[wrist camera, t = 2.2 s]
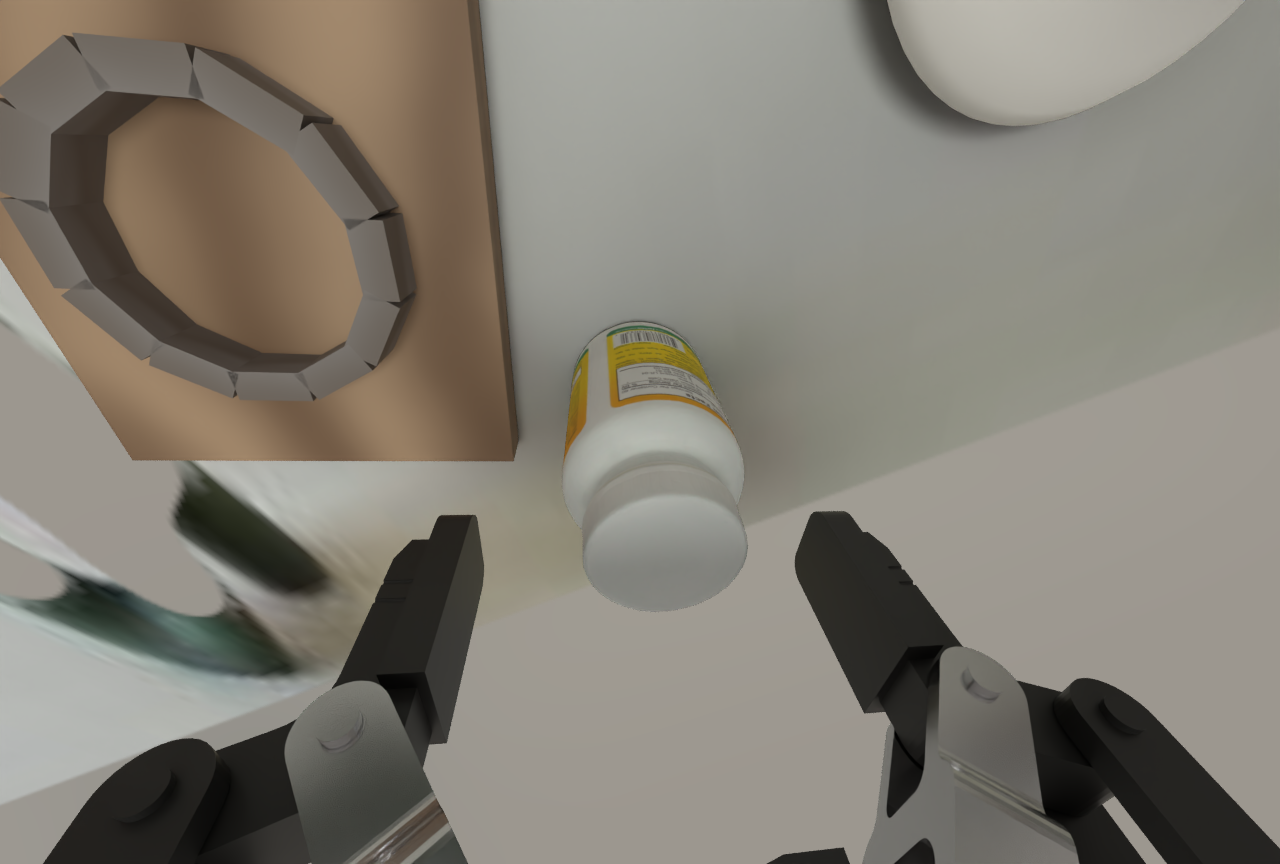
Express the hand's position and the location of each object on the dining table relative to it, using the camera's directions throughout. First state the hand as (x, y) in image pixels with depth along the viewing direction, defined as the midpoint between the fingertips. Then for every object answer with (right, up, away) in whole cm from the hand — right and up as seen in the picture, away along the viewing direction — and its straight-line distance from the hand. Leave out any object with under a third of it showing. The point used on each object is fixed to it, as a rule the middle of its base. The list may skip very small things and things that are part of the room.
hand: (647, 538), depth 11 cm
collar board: (-12, +9, +4) cm, 15 cm away
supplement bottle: (0, +5, +8) cm, 9 cm away
